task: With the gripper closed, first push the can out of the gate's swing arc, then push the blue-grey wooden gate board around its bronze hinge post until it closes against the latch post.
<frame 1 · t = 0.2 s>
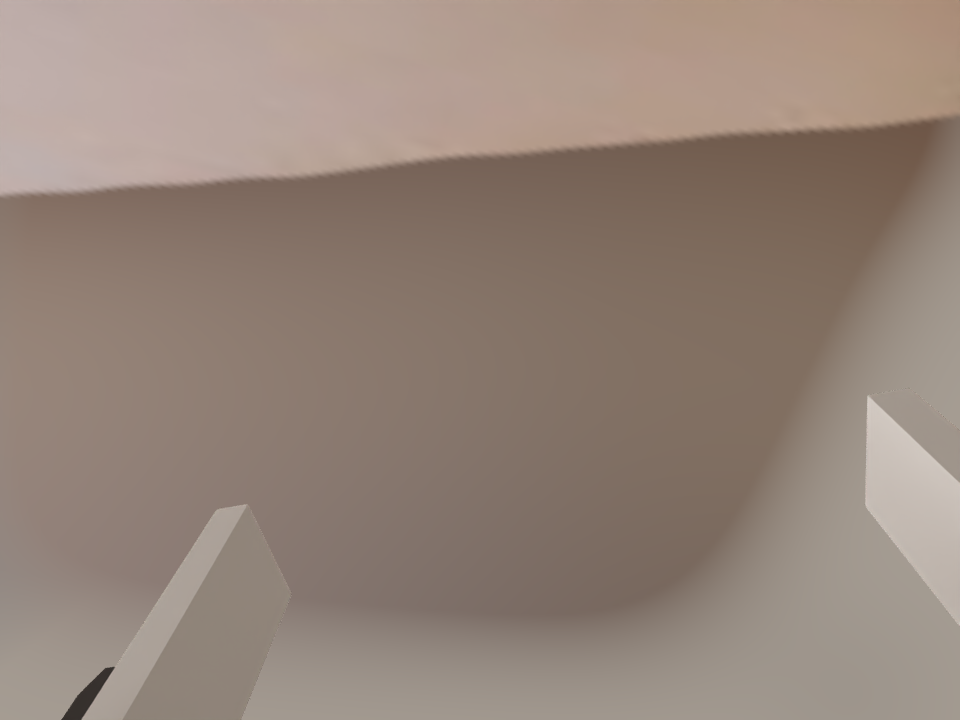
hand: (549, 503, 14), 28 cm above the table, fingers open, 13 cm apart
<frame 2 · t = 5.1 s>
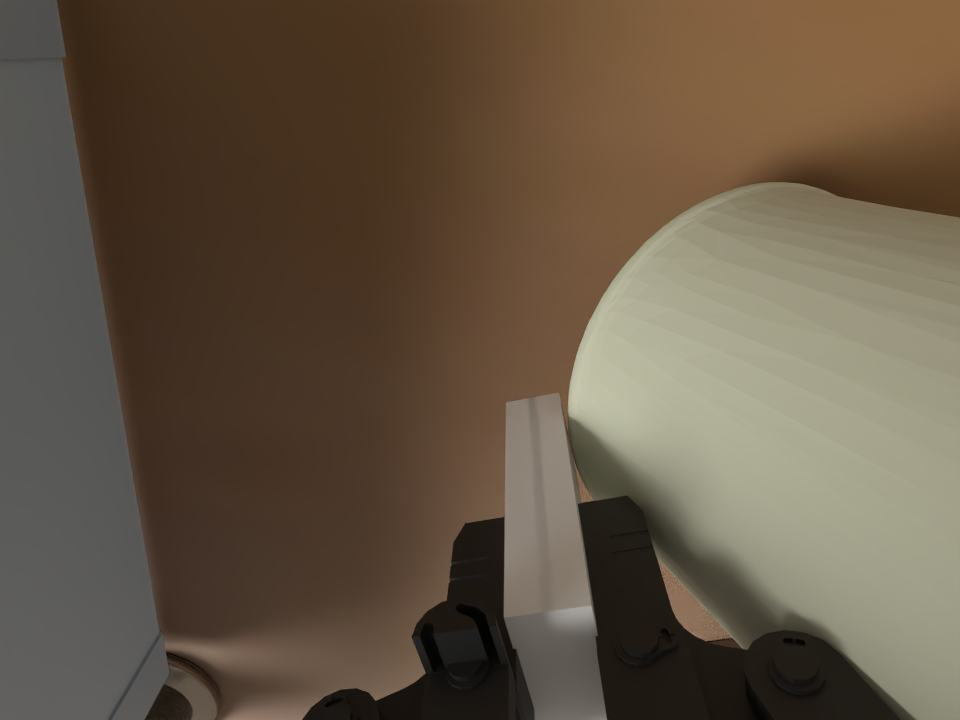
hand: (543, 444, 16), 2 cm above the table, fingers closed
hinge post: (162, 691, 24), on the table
can: (729, 372, 16), point 1 cm above the table, touching gripper, hand
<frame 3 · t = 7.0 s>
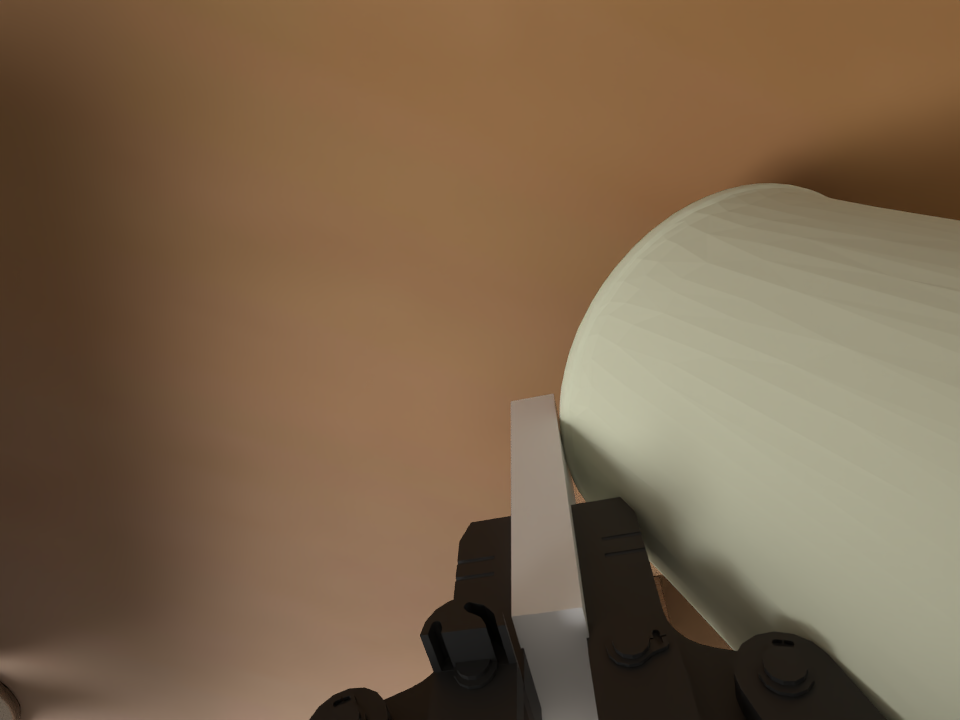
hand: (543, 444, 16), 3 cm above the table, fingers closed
can: (721, 373, 16), point 2 cm above the table, touching gripper, hand
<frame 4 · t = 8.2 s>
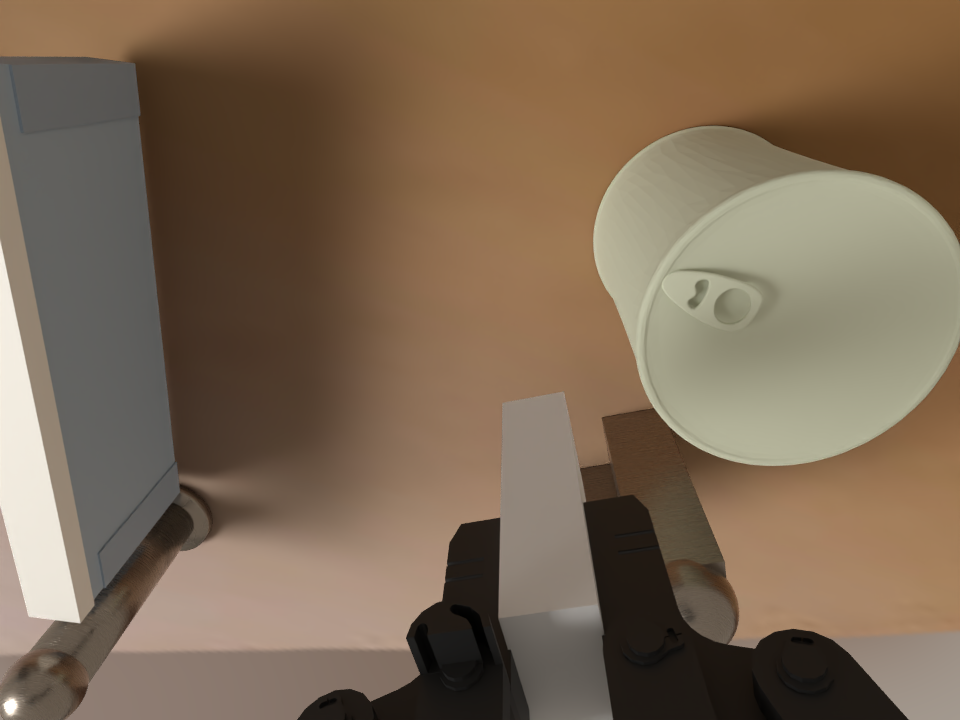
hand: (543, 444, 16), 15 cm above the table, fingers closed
hinge post: (174, 514, 37), on the table
gate: (82, 345, 26), point 5 cm above the table, hinge at 70.0°
can: (695, 233, 29), on the table
latch post: (635, 437, 33), on the table
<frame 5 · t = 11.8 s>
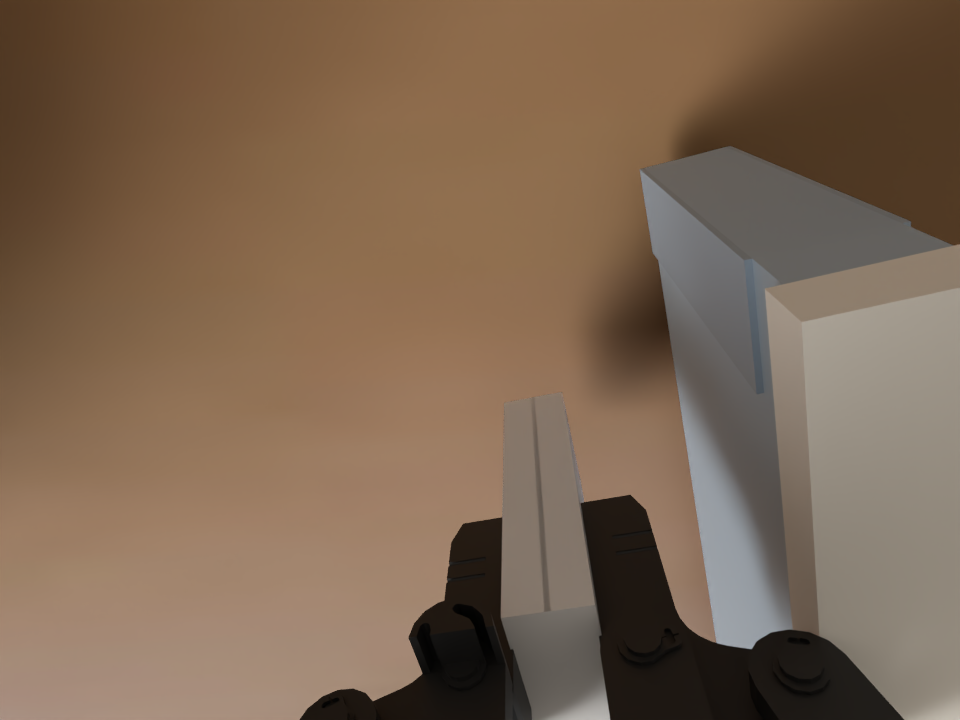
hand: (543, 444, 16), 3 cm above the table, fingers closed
gate: (793, 657, 15), point 6 cm above the table, hinge at 65.9°, touching gripper
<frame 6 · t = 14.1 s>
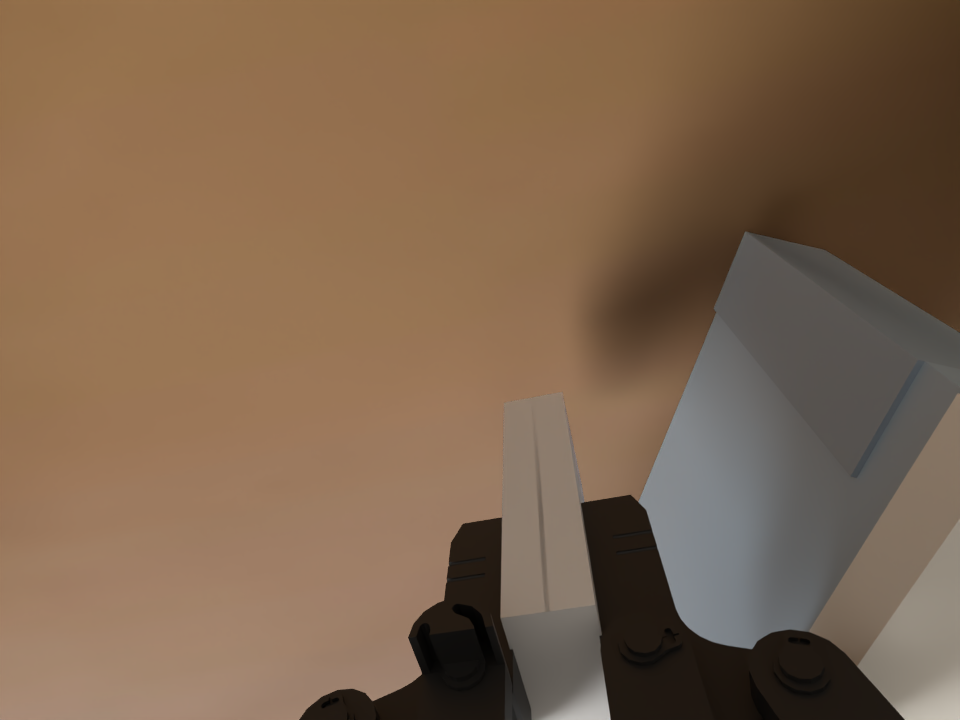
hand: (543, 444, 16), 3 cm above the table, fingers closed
gate: (673, 708, 16), point 5 cm above the table, hinge at 29.5°, touching gripper, hand
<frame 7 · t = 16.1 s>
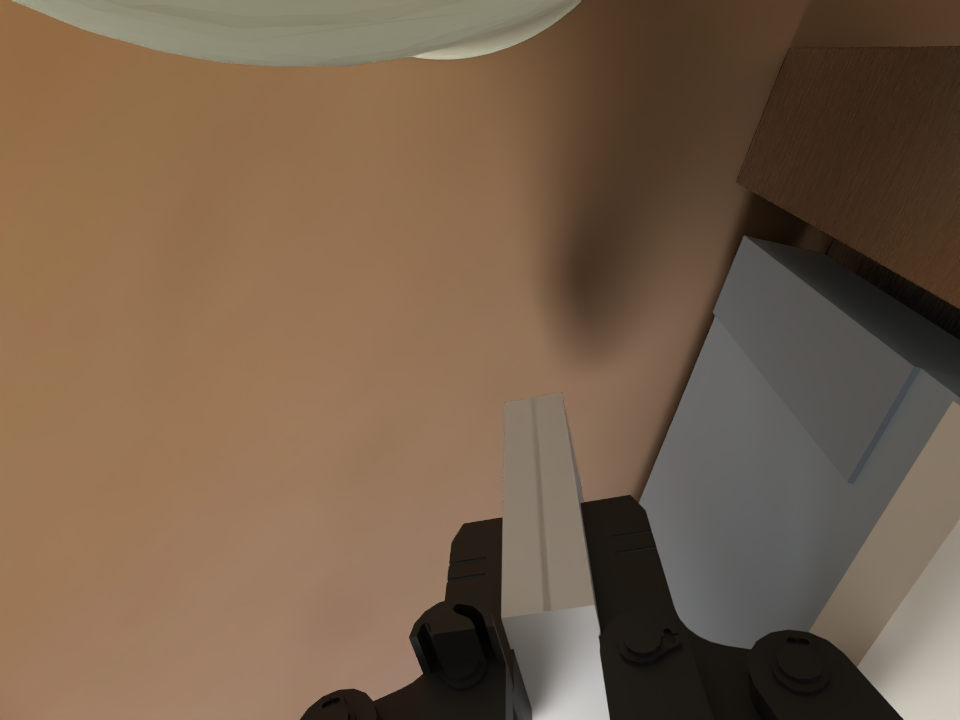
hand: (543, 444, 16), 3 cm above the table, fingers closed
gate: (673, 711, 16), point 6 cm above the table, hinge at 0.5°, touching gripper, hand
latch post: (822, 133, 15), on the table
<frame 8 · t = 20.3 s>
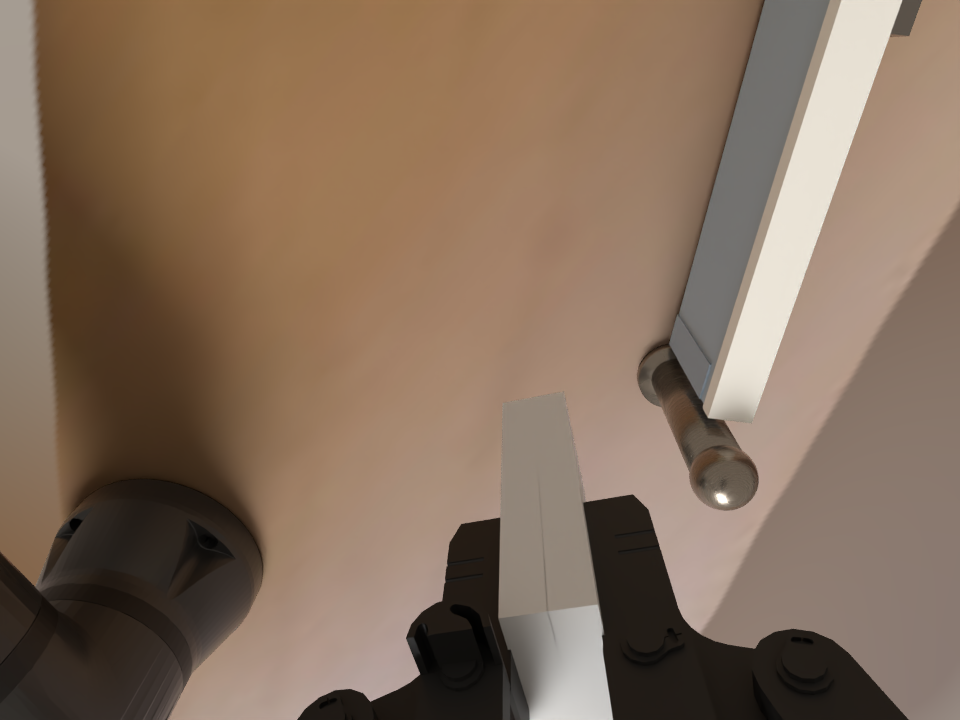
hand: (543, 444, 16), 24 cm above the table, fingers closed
hinge post: (671, 374, 42), on the table
gate: (764, 184, 31), point 6 cm above the table, hinge at -0.3°
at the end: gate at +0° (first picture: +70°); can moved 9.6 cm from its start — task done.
